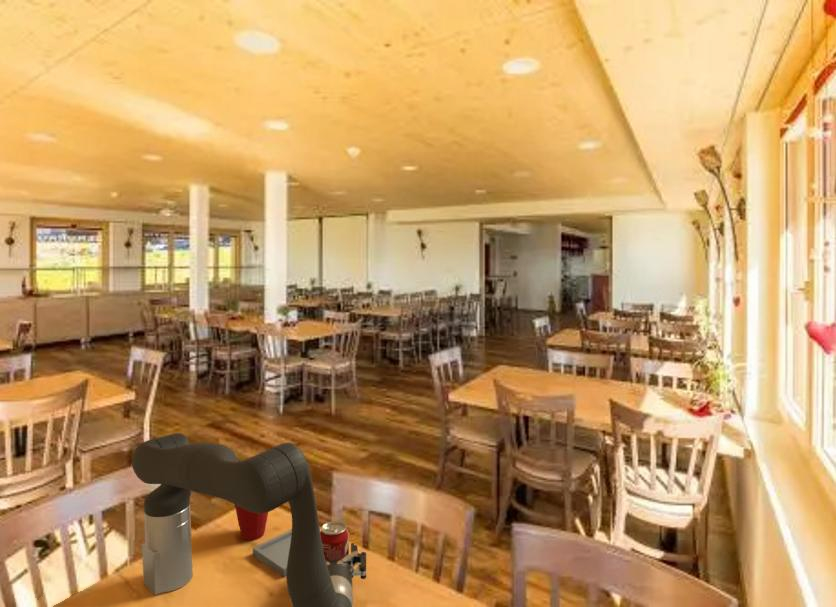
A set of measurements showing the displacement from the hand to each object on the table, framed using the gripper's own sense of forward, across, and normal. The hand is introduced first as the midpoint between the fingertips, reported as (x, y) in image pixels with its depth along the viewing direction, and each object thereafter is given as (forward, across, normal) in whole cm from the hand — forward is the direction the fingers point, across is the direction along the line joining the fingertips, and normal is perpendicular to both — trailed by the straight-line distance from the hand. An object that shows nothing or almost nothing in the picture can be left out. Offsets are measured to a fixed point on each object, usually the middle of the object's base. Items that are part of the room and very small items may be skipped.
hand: (333, 548), depth 117 cm
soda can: (0, 0, +7) cm, 7 cm away
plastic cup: (+22, +21, +7) cm, 31 cm away
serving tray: (+11, +10, +7) cm, 16 cm away
